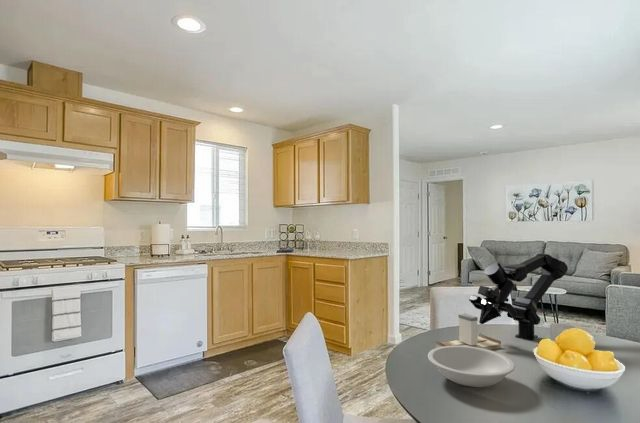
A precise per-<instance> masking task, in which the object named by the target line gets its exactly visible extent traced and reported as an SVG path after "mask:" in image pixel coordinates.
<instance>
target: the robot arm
mask: <svg viewBox="0 0 640 423" xmlns="http://www.w3.org/2000/svg"><path fill="white" fill-rule="evenodd" d="M539 268H541V275H540V276H539V278H538V279H537V280H536V282H535V283H534V284H533V285H532V287H531V288H530V289H529V291H528V293H527V294H526V295H525V296H524V297H521V296H517V297H516V298H515V299H514V301H513V302H512V303H508V302H509V300H510V299H509V296H510V294H511V293H512V292H518V287H517V283H514V282H518V283H520V282H523V281H524V280H526V278H527V277H528V274H530V273H532V272H533V271H536V270H538V269H539ZM568 269H569V268H568V265H567V264H566V262H565V261H562V260H560V259H558V258H555V257H554V256H552V255H551V254H547V253H536V255H534V256H532V257H530V258H529V259H526V260H524V261H522V262H519V263H518V264H509V265H506V266H504V267H502V265H501V264H500V262H494V263H492V264H490V265H488V266H486V268H484V271H483V272H484V274H485V276H486V277H487V278H488V279H489V280H490V282H491V283H492V284H493V285H495V286H491V287H489V286H484V285H480V286H479V288H478V291H477V294H478V295H475V294H473V295H471V296H470V297H469V299H468V301H469V302H470V303H471V304H472V305H473V306H474V308H475V309H477V310H480V316H479V319H478V320H479V321H478V322H479V324H481V325H484V324H486V323H487V322H490V321H492V320H494V319H497V318H500V317H502V315H501V314H502V313H503V312H505V313H506V316H507V317H508V318H510V319H513V321H517V323H518V324H517V325H518V333H517V334H515V338H520V339H523V340H524V339H525V340H528V341H534V340H535V339H537V338H538V335H536V334H535V325H536V326H537V325H539V324H540V323H541V318H540V316H539V315H538V314H537V311H538V309H537V305H538V303H539V302H540V301H541V299H542V298H543V297H544V295H545V294H546V292H548V290H549V289H550V287H551V285H552V284H553V283H554V282H555V281H557V280H559V279H561V278H563V277H564V276H565V275H566V274H567V273H568ZM479 295H481V296H483V297H481V296H479ZM482 298H483V299H482Z"/></svg>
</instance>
